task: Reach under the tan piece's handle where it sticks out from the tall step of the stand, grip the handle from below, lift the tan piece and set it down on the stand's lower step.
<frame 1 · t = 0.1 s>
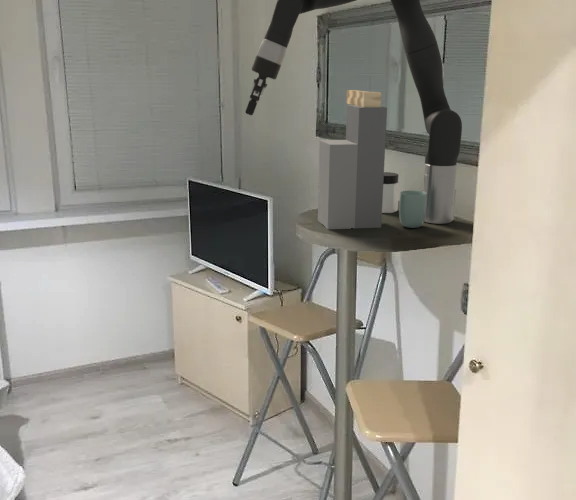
hand: (249, 113, 188), 31 cm above the table, tool tilted 20°, fingers open, 8 cm apart
jar: (383, 211, 212), on the table
tan piece: (360, 105, 190), point 34 cm above the table, touching stand
stand: (348, 223, 193), on the table
cup: (411, 227, 190), on the table
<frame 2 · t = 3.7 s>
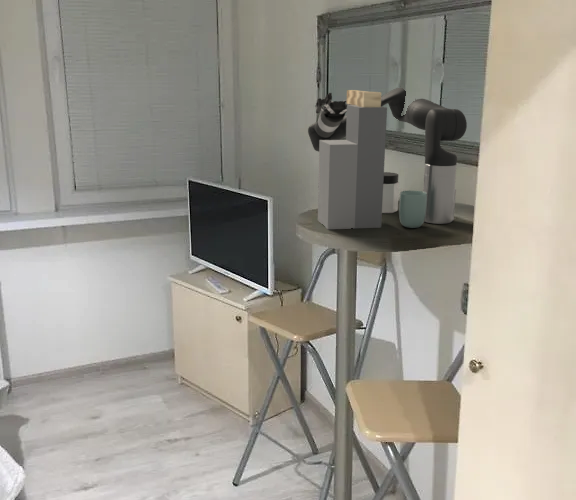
hand: (343, 95, 205), 36 cm above the table, tool pointing upward, fingers open, 8 cm apart
nothing on the table moved.
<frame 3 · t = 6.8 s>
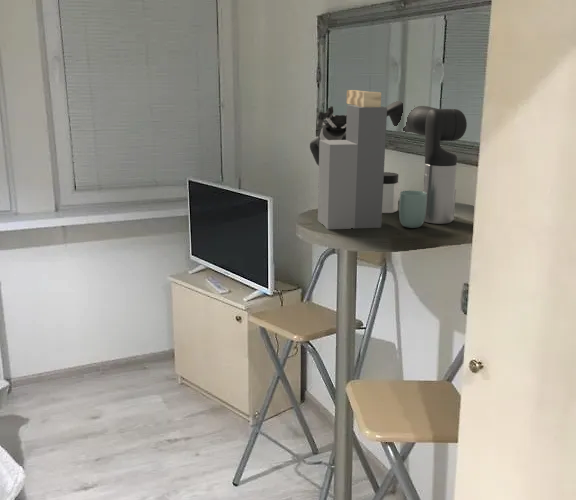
hand: (345, 109, 203), 32 cm above the table, tool pointing upward, fingers open, 8 cm apart
nothing on the table moved.
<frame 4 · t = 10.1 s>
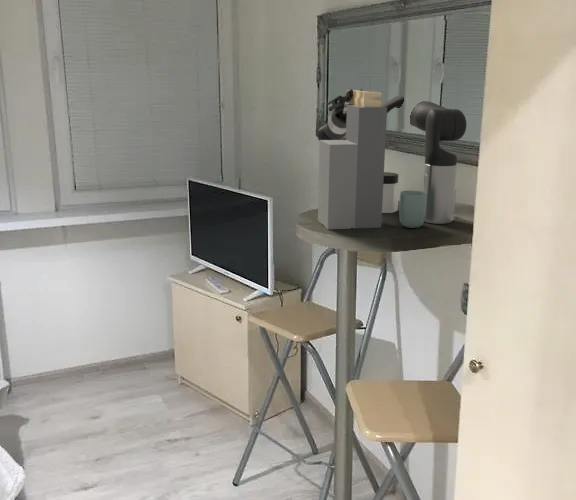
hand: (356, 92, 193), 38 cm above the table, tool pointing upward, fingers closed on tan piece, 2 cm apart
tan piece: (360, 105, 190), point 34 cm above the table, touching gripper, stand
everything else where it was.
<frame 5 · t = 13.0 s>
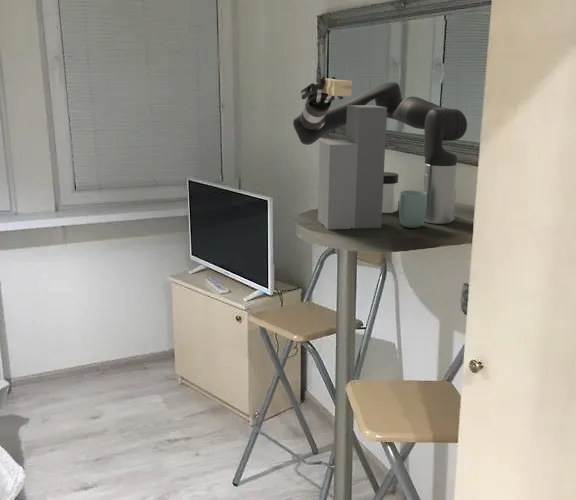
hand: (329, 79, 190), 41 cm above the table, tool pointing upward, fingers closed on tan piece, 2 cm apart
tan piece: (332, 93, 188), point 37 cm above the table, touching gripper
everything else where it was.
when the fingers open (29 cm above the table, at t = 16.0 s): tan piece stays where it is, resting on stand.
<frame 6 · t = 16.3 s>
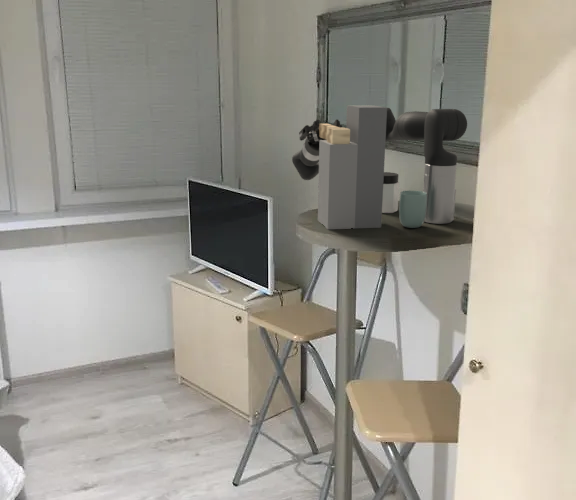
hand: (327, 122, 194), 29 cm above the table, tool pointing upward, fingers open, 5 cm apart
tan piece: (331, 139, 191), point 24 cm above the table, touching stand
everything else where it was.
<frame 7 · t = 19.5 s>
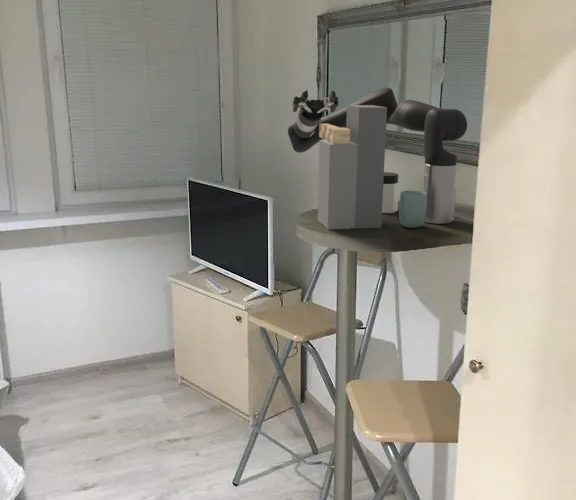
hand: (320, 93, 202), 37 cm above the table, tool pointing upward, fingers open, 8 cm apart
nothing on the table moved.
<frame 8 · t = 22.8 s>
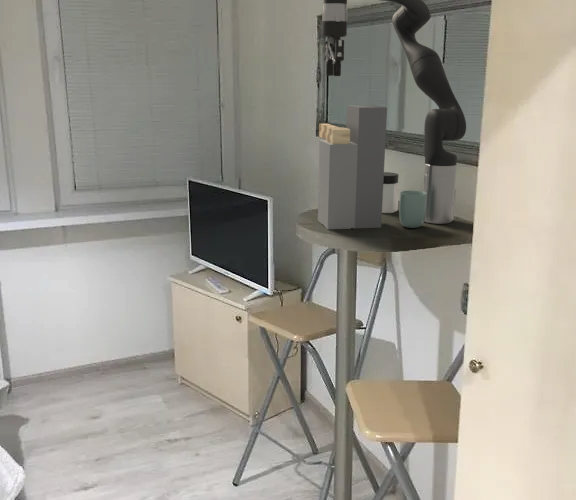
hand: (333, 75, 201), 42 cm above the table, tool pointing down, fingers open, 8 cm apart
nothing on the table moved.
at the end: tan piece 0.2 cm from the target spot on the stand, point 24.0 cm above the stand's base; tan piece tilted 0°; the gripper is holding nothing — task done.
